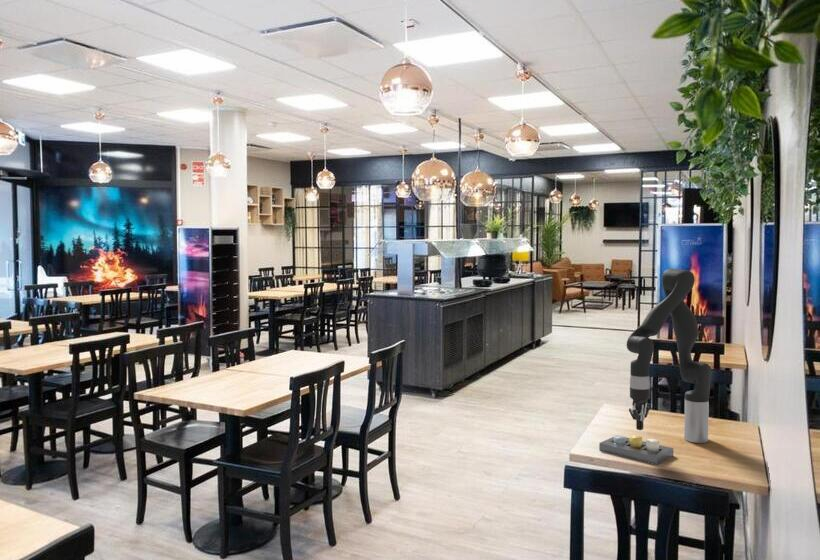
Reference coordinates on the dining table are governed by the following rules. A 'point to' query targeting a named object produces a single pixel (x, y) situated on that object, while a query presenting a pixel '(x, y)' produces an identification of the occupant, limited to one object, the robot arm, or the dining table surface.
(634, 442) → the button mustard
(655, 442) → the button ivory
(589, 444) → the dining table surface
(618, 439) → the button blue
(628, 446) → the panel
